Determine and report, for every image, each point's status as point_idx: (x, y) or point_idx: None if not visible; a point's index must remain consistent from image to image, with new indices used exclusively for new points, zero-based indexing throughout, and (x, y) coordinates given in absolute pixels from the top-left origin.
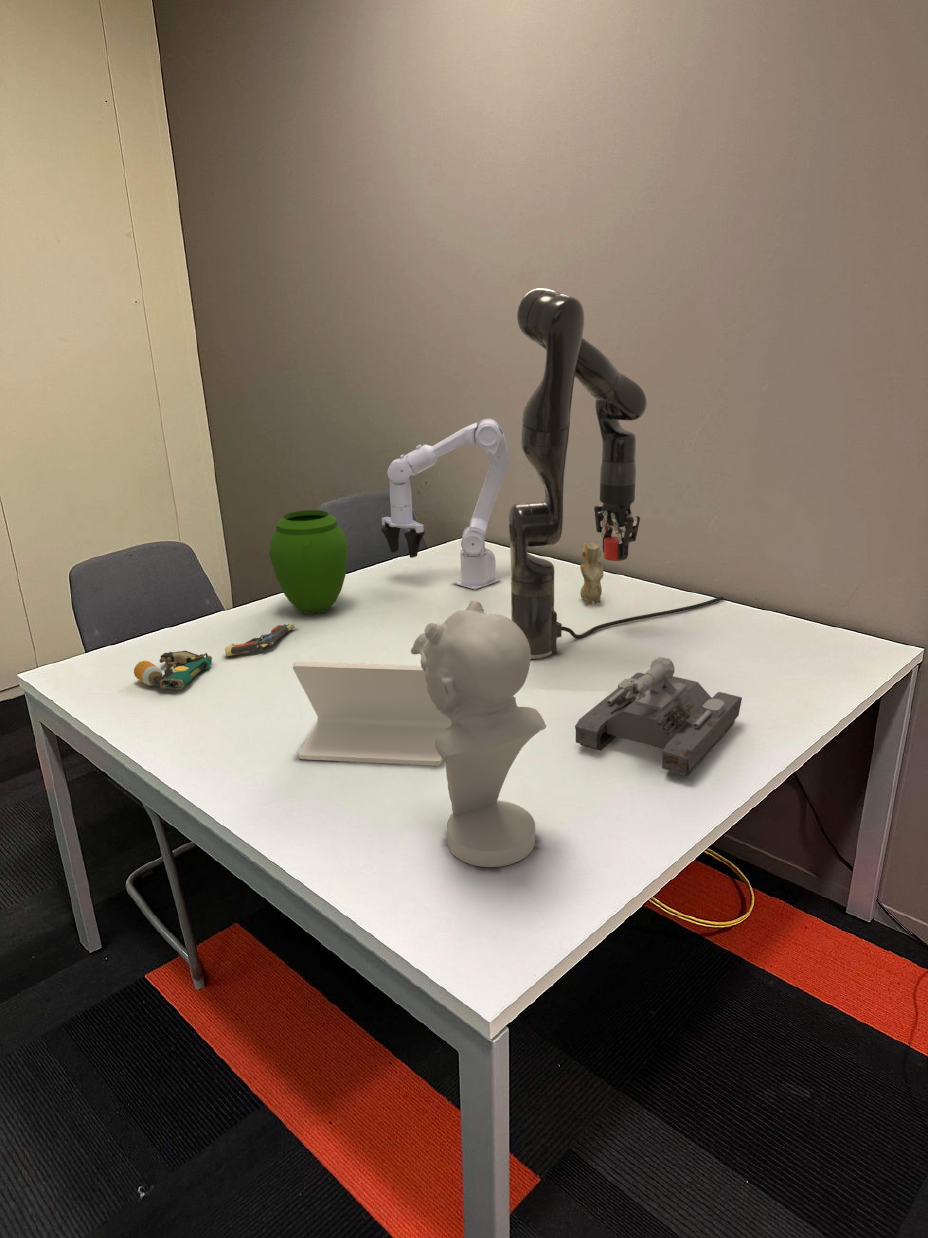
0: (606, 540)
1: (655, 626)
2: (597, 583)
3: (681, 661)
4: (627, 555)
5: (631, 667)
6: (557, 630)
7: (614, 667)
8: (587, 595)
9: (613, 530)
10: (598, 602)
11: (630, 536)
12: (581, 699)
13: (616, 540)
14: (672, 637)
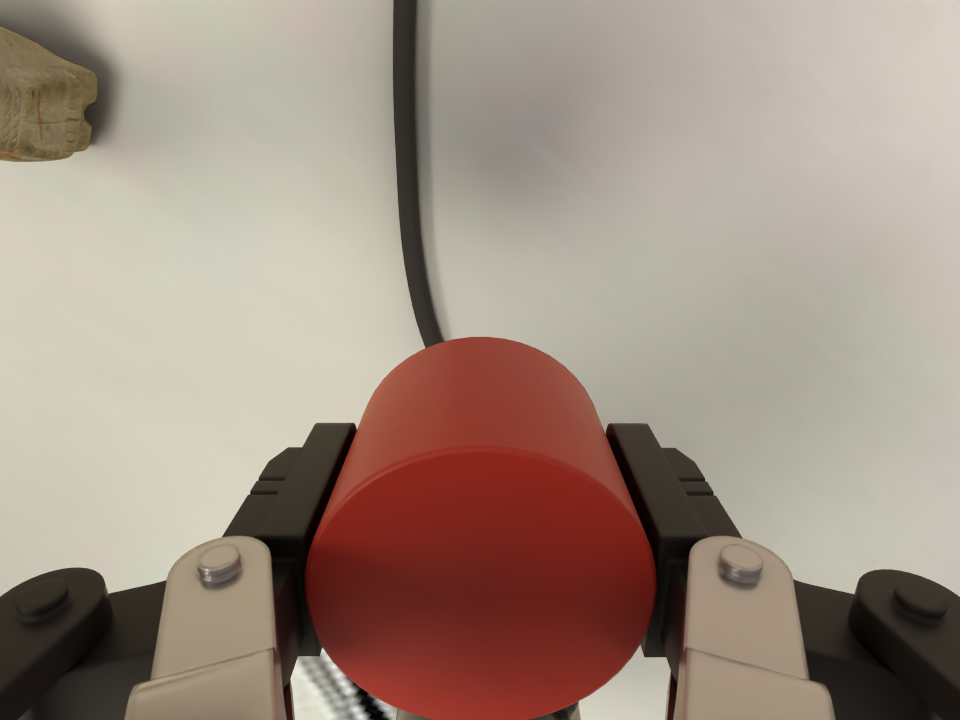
0: (456, 714)
1: (527, 4)
2: (14, 97)
3: (925, 204)
4: (690, 466)
5: (817, 413)
6: None
7: (774, 462)
8: (59, 159)
9: (275, 621)
10: (96, 88)
11: (928, 714)
12: None
13: (534, 622)
14: (699, 32)
